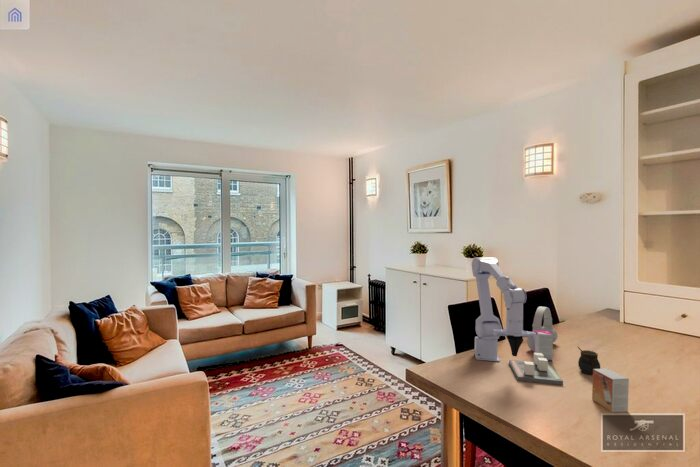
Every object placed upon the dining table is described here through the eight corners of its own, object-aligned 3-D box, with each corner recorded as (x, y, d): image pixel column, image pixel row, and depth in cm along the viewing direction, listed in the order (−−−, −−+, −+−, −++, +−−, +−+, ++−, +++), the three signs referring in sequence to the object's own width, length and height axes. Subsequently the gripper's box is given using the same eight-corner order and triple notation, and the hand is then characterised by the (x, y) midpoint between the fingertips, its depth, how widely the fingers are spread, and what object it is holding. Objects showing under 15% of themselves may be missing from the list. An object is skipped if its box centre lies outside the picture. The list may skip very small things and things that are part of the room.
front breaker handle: (525, 374, 130) (525, 364, 130) (523, 371, 133) (523, 361, 133) (534, 375, 130) (534, 364, 130) (532, 372, 132) (532, 362, 132)
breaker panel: (517, 380, 130) (517, 376, 130) (509, 363, 146) (509, 359, 146) (562, 385, 126) (562, 380, 126) (548, 366, 142) (548, 362, 142)
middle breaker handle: (539, 370, 134) (539, 360, 134) (537, 367, 137) (537, 357, 137) (547, 371, 134) (547, 360, 133) (545, 368, 136) (545, 358, 136)
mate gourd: (604, 377, 132) (604, 351, 132) (582, 376, 134) (582, 350, 134) (594, 369, 140) (594, 344, 139) (574, 368, 141) (574, 344, 141)
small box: (591, 400, 115) (592, 368, 115) (607, 399, 116) (607, 367, 116) (611, 412, 107) (612, 379, 107) (628, 411, 108) (629, 378, 108)
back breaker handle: (535, 364, 140) (535, 355, 140) (533, 362, 142) (533, 352, 142) (543, 365, 139) (543, 355, 139) (541, 362, 142) (541, 353, 141)
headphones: (539, 340, 176) (539, 302, 175) (558, 344, 170) (558, 304, 169) (526, 350, 161) (526, 309, 161) (546, 355, 155) (546, 312, 155)
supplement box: (553, 361, 148) (553, 334, 148) (538, 360, 149) (538, 333, 149) (548, 356, 154) (548, 330, 154) (533, 355, 155) (533, 329, 155)
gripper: (496, 321, 130) (495, 357, 130) (538, 324, 127) (538, 361, 127) (492, 316, 137) (492, 350, 137) (533, 319, 134) (532, 354, 134)
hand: (514, 355), depth 133 cm, fingers closed
